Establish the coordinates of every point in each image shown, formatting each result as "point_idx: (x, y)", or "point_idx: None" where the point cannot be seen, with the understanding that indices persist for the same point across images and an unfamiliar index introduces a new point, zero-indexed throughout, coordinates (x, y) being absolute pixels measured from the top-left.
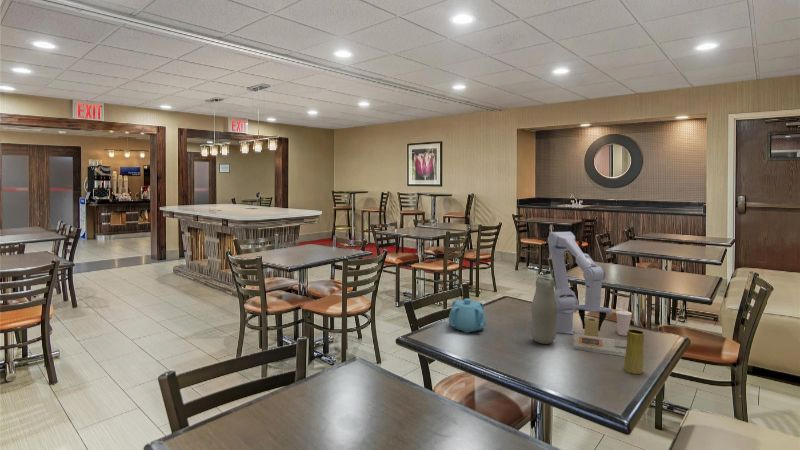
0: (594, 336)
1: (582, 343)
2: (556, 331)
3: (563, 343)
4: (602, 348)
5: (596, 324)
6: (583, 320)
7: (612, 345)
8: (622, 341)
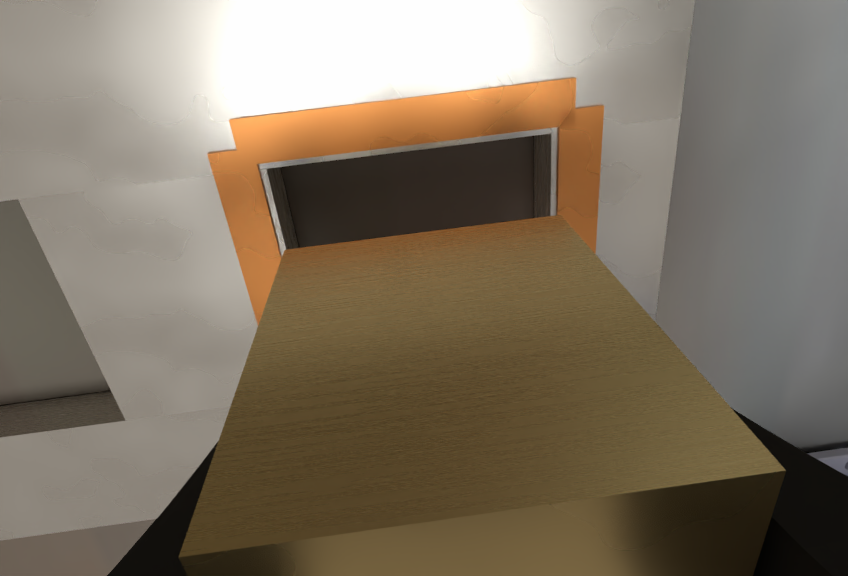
0: (353, 241)
1: (540, 107)
2: (819, 458)
3: (790, 123)
4: (178, 36)
5: (288, 453)
6: (805, 506)
7: (90, 284)
8: (44, 494)
